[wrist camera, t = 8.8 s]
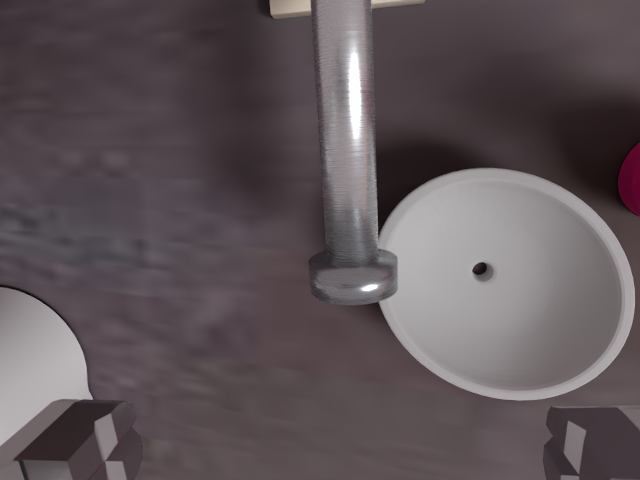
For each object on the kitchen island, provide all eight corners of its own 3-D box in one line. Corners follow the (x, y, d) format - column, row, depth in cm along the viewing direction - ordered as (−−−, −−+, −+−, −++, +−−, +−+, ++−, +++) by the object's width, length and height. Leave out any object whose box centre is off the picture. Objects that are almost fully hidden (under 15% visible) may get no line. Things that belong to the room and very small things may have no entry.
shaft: (394, 270, 23) (402, 304, 19) (316, 272, 24) (304, 305, 19) (385, -262, 17) (394, -410, 12) (279, -241, 18) (248, -375, 13)
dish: (330, 258, 31) (324, 282, 26) (466, 113, 27) (488, 109, 22) (488, 394, 32) (510, 440, 27) (638, 276, 28) (694, 305, 24)
